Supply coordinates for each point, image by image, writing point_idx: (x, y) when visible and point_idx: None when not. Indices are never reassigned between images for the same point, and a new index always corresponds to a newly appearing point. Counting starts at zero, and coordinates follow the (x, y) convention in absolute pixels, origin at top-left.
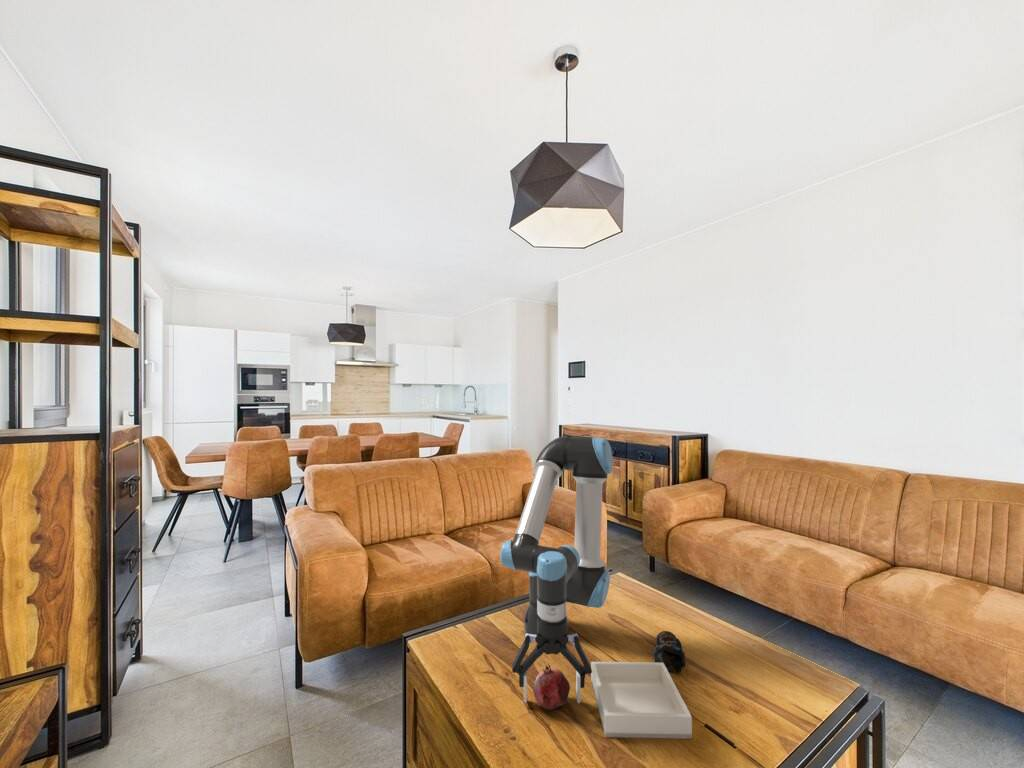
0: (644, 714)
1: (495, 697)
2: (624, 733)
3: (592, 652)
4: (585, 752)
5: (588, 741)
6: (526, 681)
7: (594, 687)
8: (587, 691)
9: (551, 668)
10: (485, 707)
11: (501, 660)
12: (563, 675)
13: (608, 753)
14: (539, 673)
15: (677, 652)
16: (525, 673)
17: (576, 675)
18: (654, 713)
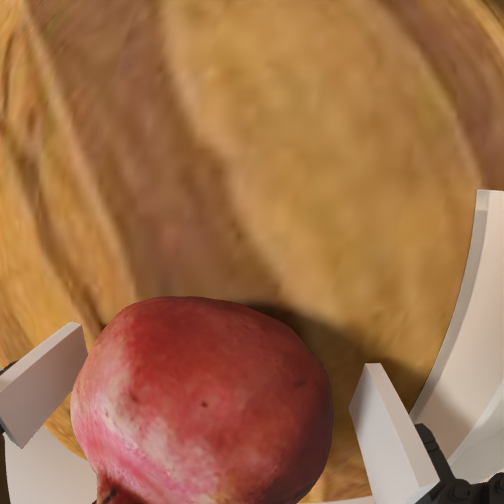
0: (479, 480)
1: (8, 277)
2: None
3: (477, 15)
4: None
5: (316, 482)
6: (35, 431)
7: (475, 314)
8: (437, 281)
9: (164, 459)
10: (2, 318)
11: (38, 42)
12: (290, 492)
13: (350, 493)
14: (73, 416)
15: None
16: (5, 427)
17: (399, 481)
18: (498, 468)
